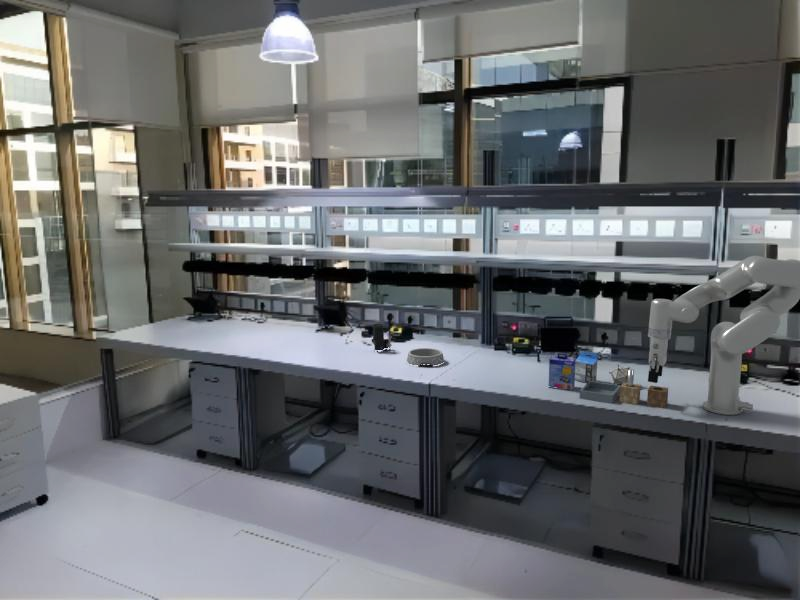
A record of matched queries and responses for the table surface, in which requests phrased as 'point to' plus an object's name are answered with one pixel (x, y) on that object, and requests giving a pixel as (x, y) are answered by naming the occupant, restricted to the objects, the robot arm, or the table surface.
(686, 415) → the table surface
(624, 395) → the oak block
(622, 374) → the beige spiked polyhedron
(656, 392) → the walnut block
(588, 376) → the label tape box
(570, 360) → the ink cartridge box
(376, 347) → the scope
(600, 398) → the tray
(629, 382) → the pin gauge
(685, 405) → the table surface
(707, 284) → the robot arm
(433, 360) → the dog bowl
